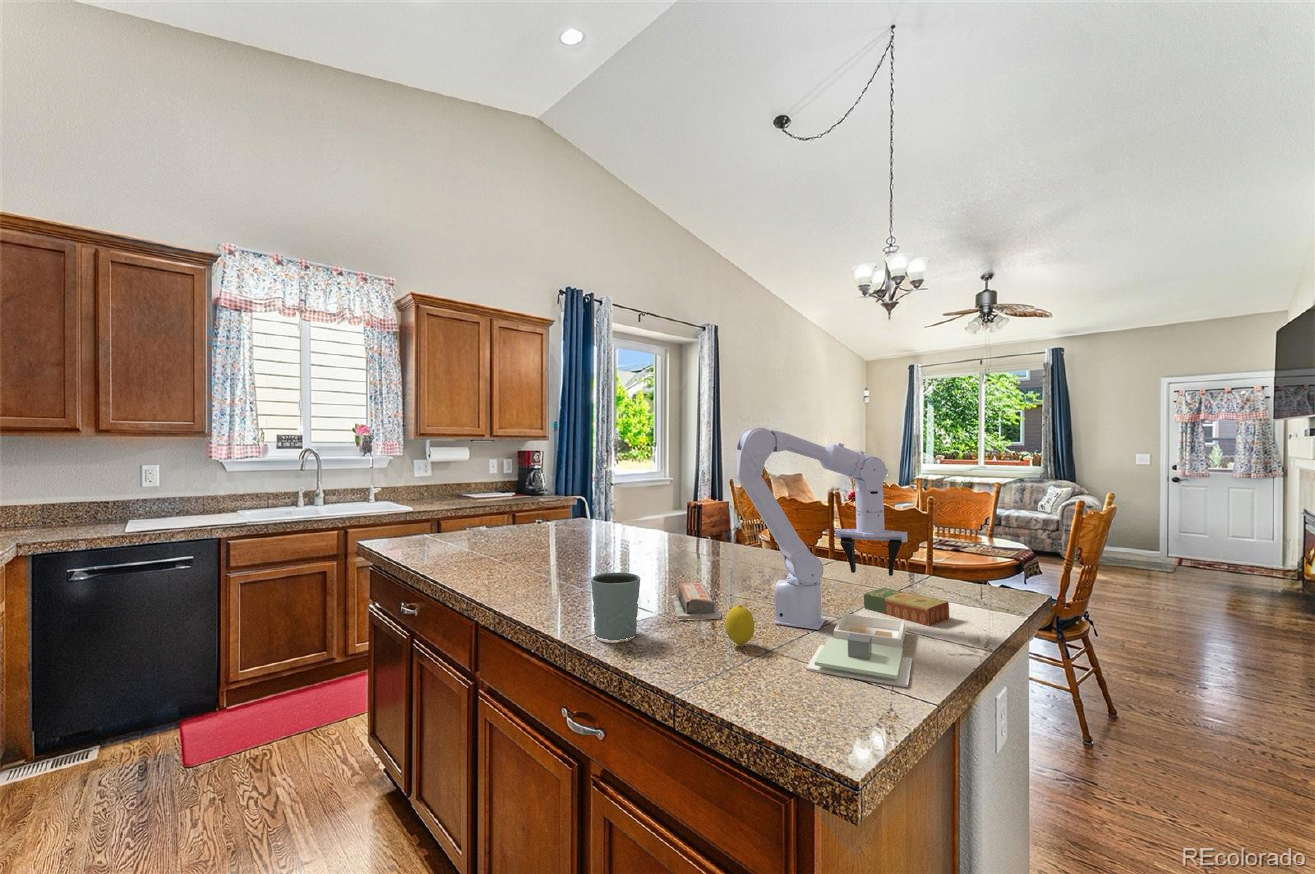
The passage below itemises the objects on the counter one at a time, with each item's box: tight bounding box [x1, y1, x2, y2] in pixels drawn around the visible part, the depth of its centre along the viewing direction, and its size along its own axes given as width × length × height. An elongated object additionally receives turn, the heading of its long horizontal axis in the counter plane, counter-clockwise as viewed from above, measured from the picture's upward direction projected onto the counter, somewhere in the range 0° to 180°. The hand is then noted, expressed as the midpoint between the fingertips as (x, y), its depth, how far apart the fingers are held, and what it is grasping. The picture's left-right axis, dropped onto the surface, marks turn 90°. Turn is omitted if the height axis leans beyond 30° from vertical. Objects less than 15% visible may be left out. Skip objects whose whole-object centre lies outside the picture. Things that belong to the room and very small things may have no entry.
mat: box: [805, 644, 913, 688], centre depth 97 cm, size 16×12×1 cm
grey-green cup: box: [590, 572, 641, 640], centre depth 114 cm, size 10×10×12 cm
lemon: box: [725, 604, 755, 647], centre depth 107 cm, size 6×6×8 cm
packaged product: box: [671, 581, 722, 620], centre depth 132 cm, size 18×5×10 cm
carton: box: [863, 587, 950, 627], centre depth 125 cm, size 8×16×4 cm, turn 33°
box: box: [833, 612, 906, 648], centre depth 110 cm, size 12×12×2 cm
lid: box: [815, 633, 904, 679], centre depth 97 cm, size 13×13×4 cm
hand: (871, 573), depth 120 cm, fingers open, 7 cm apart
